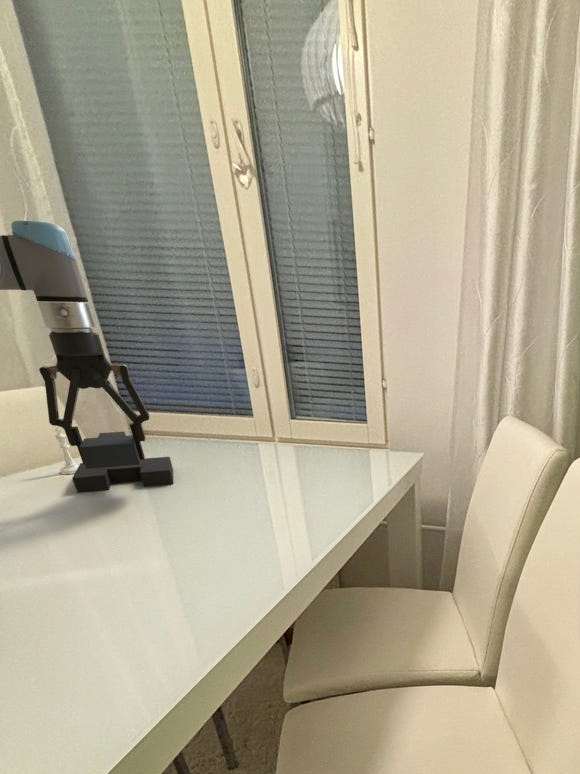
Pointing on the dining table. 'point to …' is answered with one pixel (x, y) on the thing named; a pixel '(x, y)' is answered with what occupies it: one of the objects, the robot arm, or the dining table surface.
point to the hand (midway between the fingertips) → (114, 460)
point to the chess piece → (65, 454)
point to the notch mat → (124, 474)
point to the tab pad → (109, 450)
